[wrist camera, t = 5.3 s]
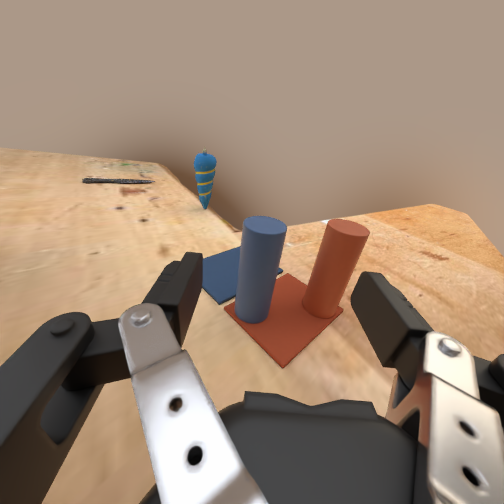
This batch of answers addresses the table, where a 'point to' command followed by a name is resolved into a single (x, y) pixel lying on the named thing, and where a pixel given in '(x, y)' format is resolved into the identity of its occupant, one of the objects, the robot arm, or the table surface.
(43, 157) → the table surface
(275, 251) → the blue cylinder
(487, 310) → the table surface
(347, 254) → the terracotta skittle
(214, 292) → the blue mat
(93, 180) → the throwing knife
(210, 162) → the ornament
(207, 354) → the table surface
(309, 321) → the terracotta mat
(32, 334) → the robot arm
